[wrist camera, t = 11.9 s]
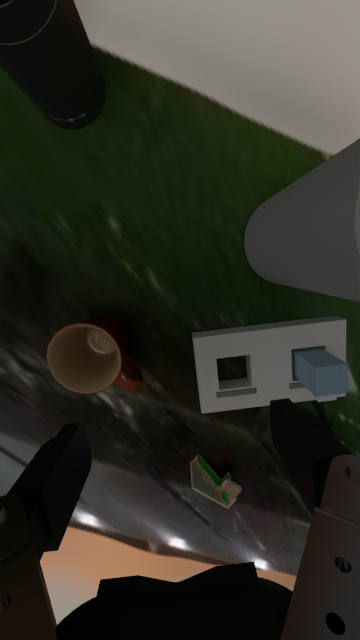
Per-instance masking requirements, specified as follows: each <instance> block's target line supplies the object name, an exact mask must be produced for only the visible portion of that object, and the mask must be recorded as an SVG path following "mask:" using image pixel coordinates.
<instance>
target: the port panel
mask: <svg viewBox="0 0 360 640" xmlns="http://www.w3.org/2000/svg"><path fill="white" fill-rule="evenodd" d="M192 339H193V347H194V356H195V365H196V373H197V382H198V391H199V399H200V406H201V412H202V413H209V412H218V411H226V410H234V409H243V408H251V407H259V406H268V405H270V401H271V400H277V399H285V398H289V399H290V400H291V401H292V402H301V401H309V400H316V399H315V398H314V397H313V396H312V393H311V392H310V391H309V390H308V389H307V388H306V387H305V386H304V385H303V384H302V383H301V382H300V381H299V380H298V379H297V378H296V377H295V376H294V375H293V374H292V356H291V350H292V349H300V348H308V347H316V346H319V347H320V348H322V349H324V350H325V351H327V352H329V353H330V354H332V355H334V356H335V357H337V358H339V359H340V360H342V361H344V362H346V319H343V318H340V317H337V316H325V317H317V318H309V319H301V320H293V321H285V322H276V323H268V324H260V325H252V326H244V327H236V328H227V329H219V330H211V331H203V332H195V333H192ZM242 355H246V368H247V378H240V379H232V380H224V381H218V372H217V362H216V359H218V358H226V357H234V356H242ZM342 396H346V393H342V394H336V397H342Z"/></svg>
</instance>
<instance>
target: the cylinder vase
mask: <svg viewBox="0 0 360 640" xmlns="http://www.w3.org/2000/svg"><path fill="white" fill-rule="evenodd" d="M244 248H245V253H246V257H247V259H248V262H249V264H250V265H251V267H252V268H253V270H254V271H255V272H256V273H257V274H258V275H259V276H261V277H262V278H264V279H265V280H267V281H270V282H272V283H276V284H281V285H285V286H290V287H294V288H299V289H303V290H308V291H312V292H317V293H321V294H326V295H330V296H335V297H339V298H344V299H348V300H353V301H358V302H360V139H358V140H357V141H355V142H354V143H352V144H351V145H350V146H348V147H346V148H345V149H343V150H342V151H340V152H339V153H337V154H336V155H334V156H333V157H331V158H330V159H328V160H327V161H325V162H323V163H322V164H320V165H319V166H317V167H316V168H314V169H313V170H311V171H310V172H308V173H307V174H305V175H304V176H302V177H301V178H299V179H298V180H296V181H295V182H293V183H292V184H290V185H289V186H287V187H286V188H284V189H283V190H281V191H280V192H278V193H277V194H275V195H274V196H272V197H271V198H269V199H268V200H266V201H265V202H263V203H262V204H261V205H260V206H259V207H258V208H257V209H256V210H255V212H254V213H253V215H252V216H251V218H250V220H249V222H248V224H247V227H246V231H245V236H244Z"/></svg>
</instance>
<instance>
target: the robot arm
mask: <svg viewBox="0 0 360 640" xmlns="http://www.w3.org/2000/svg"><path fill="white" fill-rule="evenodd" d="M0 67H1V68H2V69H3V70H4V71H5V72H6V73H7V74H8V76H9V77H10V78H11V79H12V80H13V81H14V82H15V83H16V84H17V86H18V87H19V88H20V89H21V90H22V91H23V92H24V93H25V95H26V96H27V97H28V98H29V99H30V100H31V101H32V102H33V103H34V105H35V106H36V107H37V108H38V109H39V110H40V111H41V112H42V113H43V114H44V116H45V117H46V118H47V119H49V120H50V121H51V122H53V123H54V124H56V125H58V126H60V127H64V128H79V127H83V126H85V125H87V124H88V123H90V122H91V121H92V120H93V119H94V118H95V117H96V116H97V114H98V113H99V112H100V109H101V107H102V105H103V101H104V96H105V86H104V80H103V76H102V73H101V71H100V68H99V65H98V63H97V60H96V58H95V55H94V52H93V49H92V47H91V44H90V42H89V39H88V37H87V34H86V32H85V29H84V26H83V24H82V21H81V19H80V16H79V14H78V11H77V8H76V6H75V3H74V0H0ZM270 418H271V434H272V440H273V443H274V446H275V449H276V451H277V452H278V454H279V456H280V458H281V460H282V462H283V464H284V465H285V467H286V469H287V471H288V473H289V475H290V477H291V478H292V480H293V482H294V484H295V486H296V488H297V490H298V491H299V493H300V495H301V497H302V499H303V501H304V503H305V504H306V506H307V508H308V510H309V512H310V514H311V516H312V520H311V524H310V528H309V532H308V536H307V540H306V543H305V547H304V551H303V555H302V559H301V563H300V566H299V570H298V574H297V578H296V582H295V586H294V590H293V592H292V591H291V590H289V589H288V588H286V587H284V586H282V585H280V584H278V583H276V582H273V581H270V580H267V579H264V578H259V577H258V576H257V572H256V568H255V565H254V562H248V563H240V564H231V565H223V566H215V567H213V568H211V569H208V570H206V571H204V572H201V573H199V574H197V575H194V576H192V577H190V578H188V579H185V580H183V581H180V582H169V581H164V580H159V579H154V578H149V577H144V576H139V575H137V576H130V577H129V576H128V577H120V578H111V579H102V580H100V584H99V588H98V592H97V596H96V597H95V598H92V599H91V600H89V601H87V602H85V603H84V604H82V605H80V606H79V607H78V608H76V609H75V610H73V611H72V612H71V613H70V614H69V615H67V616H66V617H65V618H64V619H63V620H62V621H61V622H60V623H59V624H58V625H57V624H56V620H55V616H54V613H53V609H52V606H51V601H50V598H49V594H48V591H47V587H46V583H45V579H44V576H43V572H42V568H41V565H40V560H41V557H42V555H43V553H44V552H47V551H57V550H58V549H59V546H60V544H61V541H62V539H63V536H64V534H65V531H66V529H67V526H68V524H69V521H70V519H71V516H72V514H73V512H74V509H75V507H76V504H77V502H78V499H79V497H80V494H81V492H82V489H83V487H84V484H85V482H86V479H87V477H88V474H89V472H90V469H91V464H92V455H91V450H90V445H89V441H88V436H87V432H86V427H85V425H84V423H74V424H66V425H64V426H63V427H62V428H61V430H60V431H59V433H58V434H57V436H56V437H55V438H51V439H50V440H49V441H48V442H47V443H45V444H44V445H43V446H42V447H40V449H39V450H38V452H37V453H36V454H35V456H34V459H32V460H31V461H30V463H29V464H28V467H26V468H25V470H24V471H23V472H22V474H21V475H20V477H19V478H18V479H17V481H16V482H15V484H14V485H13V486H12V488H11V489H10V491H9V492H8V493H7V495H4V496H1V497H0V640H360V457H359V456H355V455H352V454H351V453H350V452H349V451H348V450H347V449H346V447H345V446H344V445H343V444H342V443H341V442H340V441H339V440H338V439H337V438H336V437H335V435H334V434H333V433H332V432H330V431H329V429H328V428H327V427H326V426H325V425H323V422H322V421H321V420H320V419H319V418H318V417H317V416H316V415H315V414H313V413H311V412H310V411H308V410H306V409H298V408H297V407H296V406H295V405H294V403H293V402H292V401H291V400H290V399H289V398H285V399H277V400H271V401H270Z"/></svg>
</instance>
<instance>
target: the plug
mask: <svg viewBox="0 0 360 640" xmlns="http://www.w3.org/2000/svg"><path fill="white" fill-rule="evenodd" d="M291 356H292V374H293V375H294V376H295V377H296V378H297V379H298V380H299V381H300V382H301V383H302V384H303V385H304V386H305V387H306V388H307V389H308V390H309V391H310V392H311V393H312V396H313V397H314V398H315V399H316V400H317V401H318V402H322V401H330V400H336V394H342V393H347V363H346V362H344V361H342V360H340V359H339V358H337V357H335V356H334V355H332V354H330V353H329V352H327V351H325V350H324V349H322V348H320V347H319V346H316V347H308V348H300V349H292V350H291Z"/></svg>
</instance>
